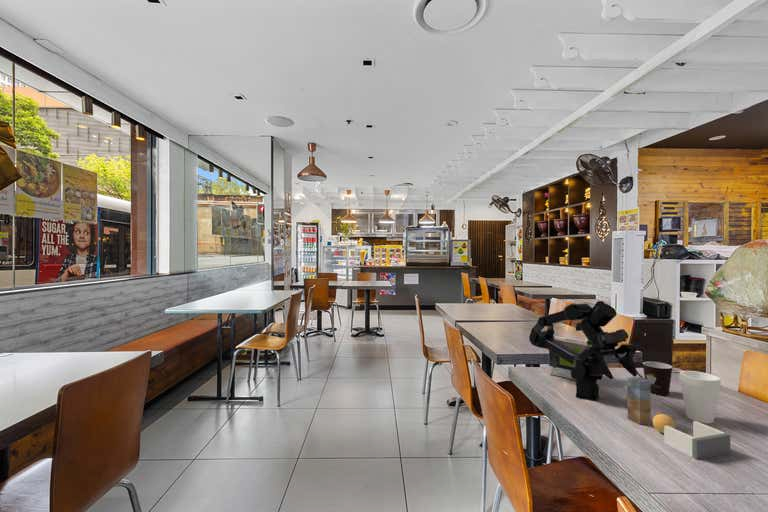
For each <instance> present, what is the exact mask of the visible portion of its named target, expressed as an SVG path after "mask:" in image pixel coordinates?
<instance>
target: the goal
mask: <svg viewBox="0 0 768 512" xmlns="http://www.w3.org/2000/svg"><path fill="white" fill-rule="evenodd" d="M692 426H693V427H692V431H693V432H692V434H693V435H689V434H688V433H684V432H682V431H681V430H678V429H676V428H675V429H674V428H672V427H669V426H664V433H663V439H664V441H663V443H664V444H665V445H667V446H669V447H671V448H673V449H676V450H677V451H679V452H681V453H683V454H685V455H687V456H690V457H691V458H694V459H696V460H700V459H705V458H711V457H712V458H713V457H715V456H722V455H728V454H731V434H729V433H726V432H724V431H721V430H719V429H716V428H715V427H711V426H709V425H707V424H705V423H701V422H697V421H694V420H693V422H692Z"/></svg>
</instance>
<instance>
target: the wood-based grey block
mask: <svg viewBox="0 0 768 512" xmlns="http://www.w3.org/2000/svg"><path fill="white" fill-rule="evenodd" d="M626 379H627V381H626V382H627V384H626V385H627V386H626V388H627V389H626V390H627V391H626V392H627V394H626V396H627V403H626V404H627V405H626V406H627V420H629V421H631V422H633V423H635V424H638V425H639V426H641V424H642V425H649V424H651V422H652V421H651V419H652V417H651V416H652V415H651V414H652V413H651V410H652V409H651V394H650V380H647V379H645V377H643V378H641V377H640V376H639V375H637V376H635V377H634V376H628V377H627V378H626ZM648 423H649V424H648Z"/></svg>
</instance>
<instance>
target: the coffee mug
mask: <svg viewBox="0 0 768 512" xmlns="http://www.w3.org/2000/svg"><path fill="white" fill-rule="evenodd" d="M634 366H635V369H636V373H637V376H638V377H641V378H644V379H647V380H650V393H652V394H651V395H653V394H656V395H655V396H658V395H660V396H659V397H668V396H669V394H670V387H671V380H672V375H673V374H672V372H673V366H672V365H671V364H668V363H664V362H659V361H644V362H643V361H642V364H641V363H634ZM637 366H640V367H641V368H642V369H643V375H644V377H643V375H641V373H639V372H638V370H637ZM667 395H668V396H667Z"/></svg>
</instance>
